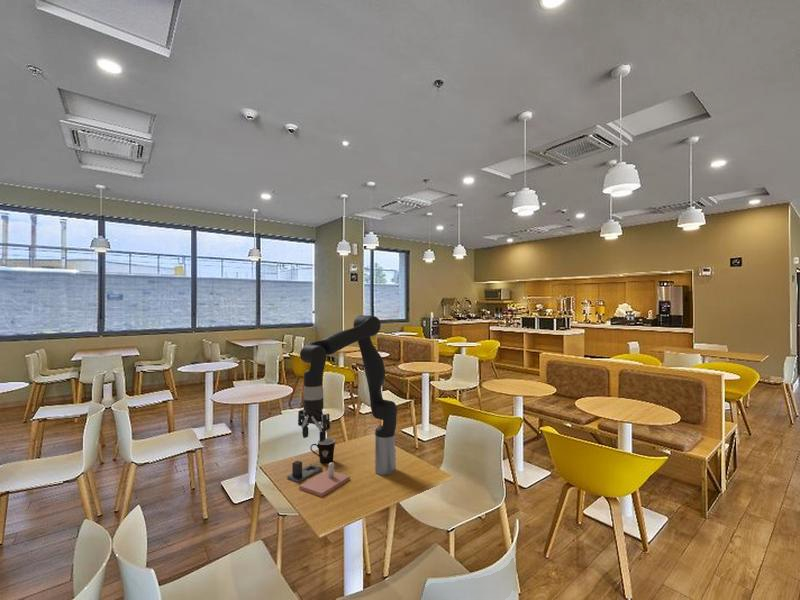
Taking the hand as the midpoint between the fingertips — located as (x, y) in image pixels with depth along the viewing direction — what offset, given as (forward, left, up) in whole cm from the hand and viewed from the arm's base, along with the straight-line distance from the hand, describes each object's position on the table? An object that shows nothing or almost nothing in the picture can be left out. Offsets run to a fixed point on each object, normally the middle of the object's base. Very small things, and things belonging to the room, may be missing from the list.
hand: (313, 439), depth 142 cm
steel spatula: (-19, -25, -27) cm, 41 cm away
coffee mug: (-35, -28, -27) cm, 52 cm away
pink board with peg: (-17, -10, -27) cm, 33 cm away
